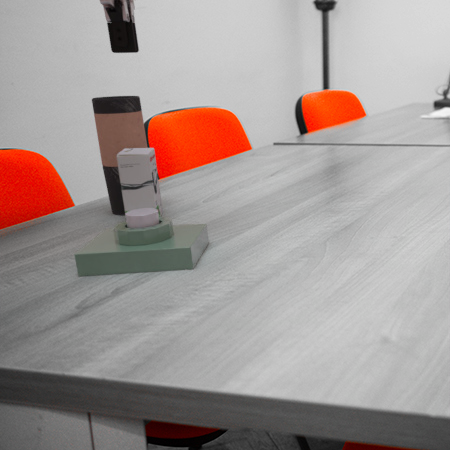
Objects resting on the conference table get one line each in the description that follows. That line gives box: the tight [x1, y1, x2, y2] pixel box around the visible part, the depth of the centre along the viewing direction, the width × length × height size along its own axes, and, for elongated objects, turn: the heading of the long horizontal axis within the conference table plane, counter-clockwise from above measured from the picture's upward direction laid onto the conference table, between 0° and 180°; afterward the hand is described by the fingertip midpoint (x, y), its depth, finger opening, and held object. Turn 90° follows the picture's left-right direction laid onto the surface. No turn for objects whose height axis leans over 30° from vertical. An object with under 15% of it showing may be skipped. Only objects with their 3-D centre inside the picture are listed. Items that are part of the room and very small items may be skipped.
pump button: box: [124, 208, 160, 229], centre depth 76 cm, size 4×4×2 cm
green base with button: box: [73, 216, 210, 277], centre depth 77 cm, size 14×11×5 cm
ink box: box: [117, 147, 164, 217], centre depth 95 cm, size 9×5×12 cm, turn 16°
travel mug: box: [91, 95, 149, 216], centre depth 101 cm, size 8×8×20 cm
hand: (125, 52), depth 80 cm, fingers closed
